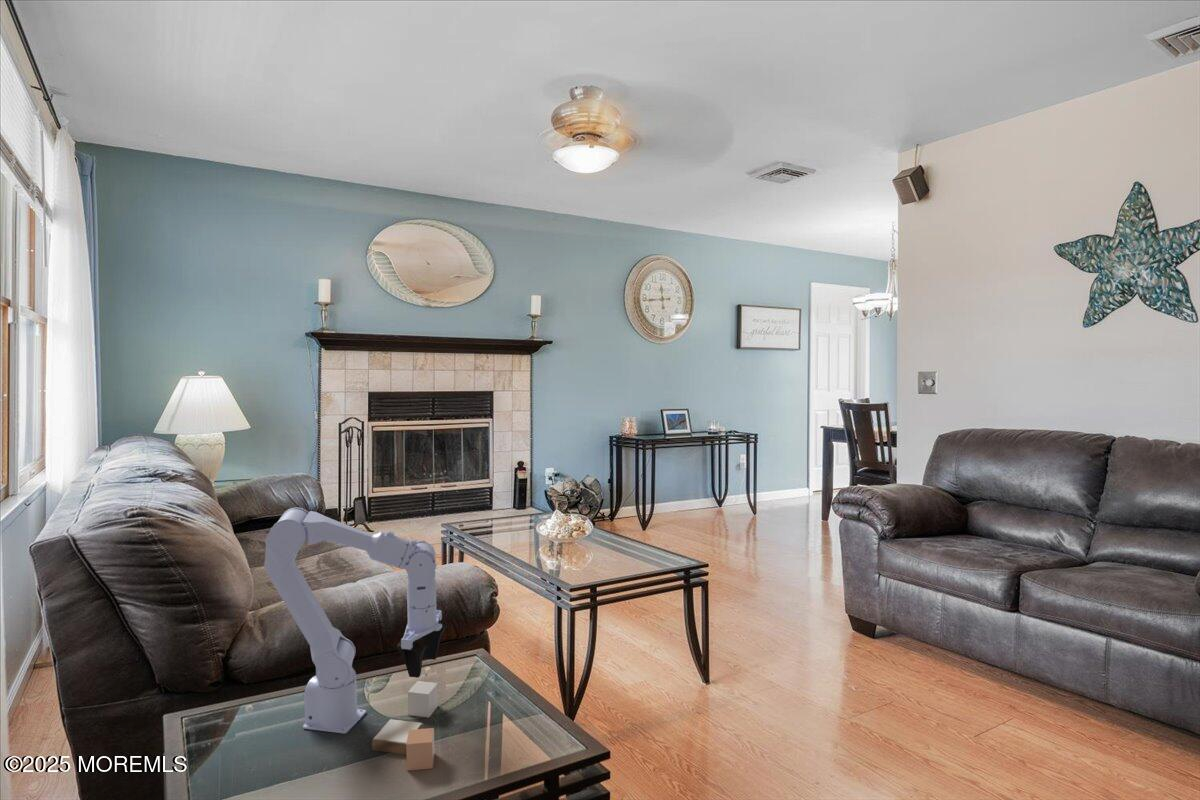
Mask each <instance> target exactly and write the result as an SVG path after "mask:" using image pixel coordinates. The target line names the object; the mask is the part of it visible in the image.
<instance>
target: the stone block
mask: <svg viewBox="0 0 1200 800" xmlns="http://www.w3.org/2000/svg"><path fill="white" fill-rule="evenodd" d="M438 707H439V683H438V682H432V681H431V682H430V681H422V680H417V681H416V682H414V684H413V686H411V687H410V688H409V690H408V691H407V709H408V710H407V711H408V712H407V713H408V714H407V715H408V716H414V717H421V718H430V717H431V715H432V714H433V713H434V712H435V711H436V709H437V708H438Z"/></svg>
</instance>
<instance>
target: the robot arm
mask: <svg viewBox="0 0 1200 800" xmlns="http://www.w3.org/2000/svg"><path fill="white" fill-rule="evenodd" d="M306 540H307V546H308V547H309V546H312V545H315V544H319V543H321V542H324V541H328V542H332V543H336V544H339V545H342V546H346V547H349V548H350V547H351V548H354V549H358V550H362V551H365V552H366V553H367V555H368V557H369V558H370V560H372V561H376V562H379V563H380V564H381V563H382V564H385V565H387V566H391V567H394V568H397V569H399V570H405V571H406V573H407V582H406V596H407V597H406V599H407V608H406V609H407V624H406V627H405V631H404V633H403V637H402V638H401V639H400V641H399V642H398V643H397V645H396V648H397V649H396V650H397V652H398V653H399V654H400V656H401V657H402V658H403V659H402V660H403V661H404V664H405V667H406V670H407V674H408V677H410V678H415V679H417V678H418V679H419V678H420V677H421V675H422V667H423V659H424V658H423V657H424V656H425V659H426V660H434V661H435V660H436V659H437V657H438V653H439V649H440V643H441V640H442V637H443V634H444V632H445V630H446V628H447V623H446V622H442V621H441V620H442V619H443V615H442V613H443V612H442V610H440V609H437V580H436V569H437V563H436V562H437V561H436V560H437V558H436V557H437V556H436V551H435V549H434V547H433V546H432V544H430V543H429V542H426V541H425V540H416V539H412V540H409V539H406V538H403V537H400V536H397V535H395V532H394V531H392V530H390V529H389V530H387V532H386V531H382V530H381V531H379V532H377V533H374V534H372V533H370V532H367V531H364V530H361V529H359V528H356V527H354V526H351V525H348V524H346V523H343V522H341V521H338V520H336V519H333V518H331V517H329V516H325V515H323V514H322V513H319V512H317V511H312V510H310V511H308V510H307V509H305V508H302V507H292V508H289V509H287V510H286V511H284V512H283V513H282V514H281V516H280V517H279V519H278V521H277V522H276V523H274V524H273V526H271V529H270V530H269V532H268V534H267V536H266V538H265V541H264V543H265V554H264V567H263V568H264V570H265V573H266V575H267V576H268V579H269V580H270V582H271V583H272V585H273V586H274V588H275V590H276V591H277V592H278V595H279V597H280V598H281V600H282V601H283V603H284V604H285V606H286V608H287V609H288V612H289V614H291V616H292V618H293V620H294V621H295V623H296V624H297V626H298V628H299V629H300V631H301V633H302V635H303V636H304V639H305V640H306V641H307V643H308V645H309V648H310V655H311V660H312V663H313V664H314V666H315V675H314V676H312V677H311V678H310V679H309V681H308V682H307V684H306V686H305V690H304V693H303V694H304V695H303V696H304V697H303V702H304V703H303V704H304V724H303V725H302V729H305V730H313V731H320V732H329V733H336V734H337V733H338V734H345V735H346V734H347V733H348V732H349V731H350V730H351V729H352V728H353V727H354V726H355V725H356V724H357V722H359V721H360V720H361V719H362V717H364V716H365V714H366V713H367V710H366V709H362V708H361V709H360V708H358V698H357V697H358V694H357V693H358V692H357V691H358V690H357V689H358V688H357V672H356V670H355V669H354V667H353V661H354V658H355V657H356V646H355V645H354V643H353V641H351V640H350V639H348V638H347V637H345V636H344V634H342V632H341V630H340V629H338V628H336V627H334V626H333V624H332V622H331V621H330V619H329V618H328V616H327V614H326V612H325V611H324V609H323V607H322V605H321V604H320V602H319V600H318V598H317V597H316V595H315V594H314V592H313V591H312V589H311V587H310V585H309V583H308V581H307V580H306V578H305V577H304V575H303V573H302V572H301V570H300V568H299V567H298V565H297V563H296V559H297V556H298V554H299V551H300V548H301V547H302V546H303V544H304V543H305V542H306ZM419 639H422V643H423V644H420V642H418V641H419Z"/></svg>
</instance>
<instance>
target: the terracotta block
mask: <svg viewBox="0 0 1200 800" xmlns="http://www.w3.org/2000/svg"><path fill="white" fill-rule="evenodd" d="M435 752H436V751H435V727H428V728H423V729H414V730H409V733H408V738H407V743H406V771H418V770H419V771H420V770H427V769H433V768H434V761H435Z"/></svg>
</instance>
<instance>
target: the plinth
mask: <svg viewBox="0 0 1200 800" xmlns="http://www.w3.org/2000/svg"><path fill="white" fill-rule="evenodd" d="M414 729H424V723H422V722H417V721H416V722H415V721H408V720H399V719H392V718H390V719H389V720H388V721H387V722H386V723H385V724H384V726H383V727H382V728H381V729H380V730H379V732H378V733H376V735H375V736H374V737H373V739H372V740H371V750H372V751H375V752H383V753H392V754H397V755H406V743H407V738H408V733H409V730H414Z"/></svg>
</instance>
